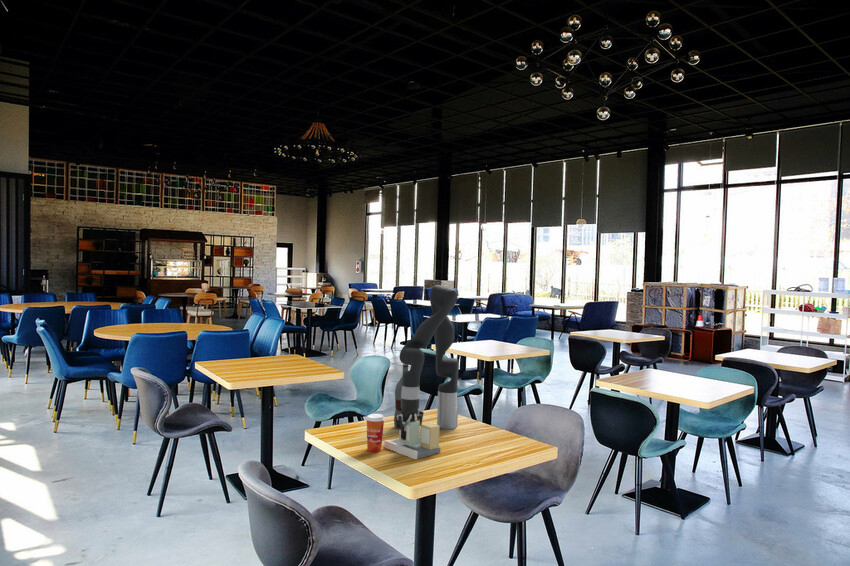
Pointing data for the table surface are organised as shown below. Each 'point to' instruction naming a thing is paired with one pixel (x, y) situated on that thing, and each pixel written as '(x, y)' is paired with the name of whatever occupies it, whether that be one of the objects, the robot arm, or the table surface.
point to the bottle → (399, 396)
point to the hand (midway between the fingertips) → (408, 438)
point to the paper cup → (374, 432)
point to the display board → (410, 449)
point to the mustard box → (429, 436)
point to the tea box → (411, 433)
